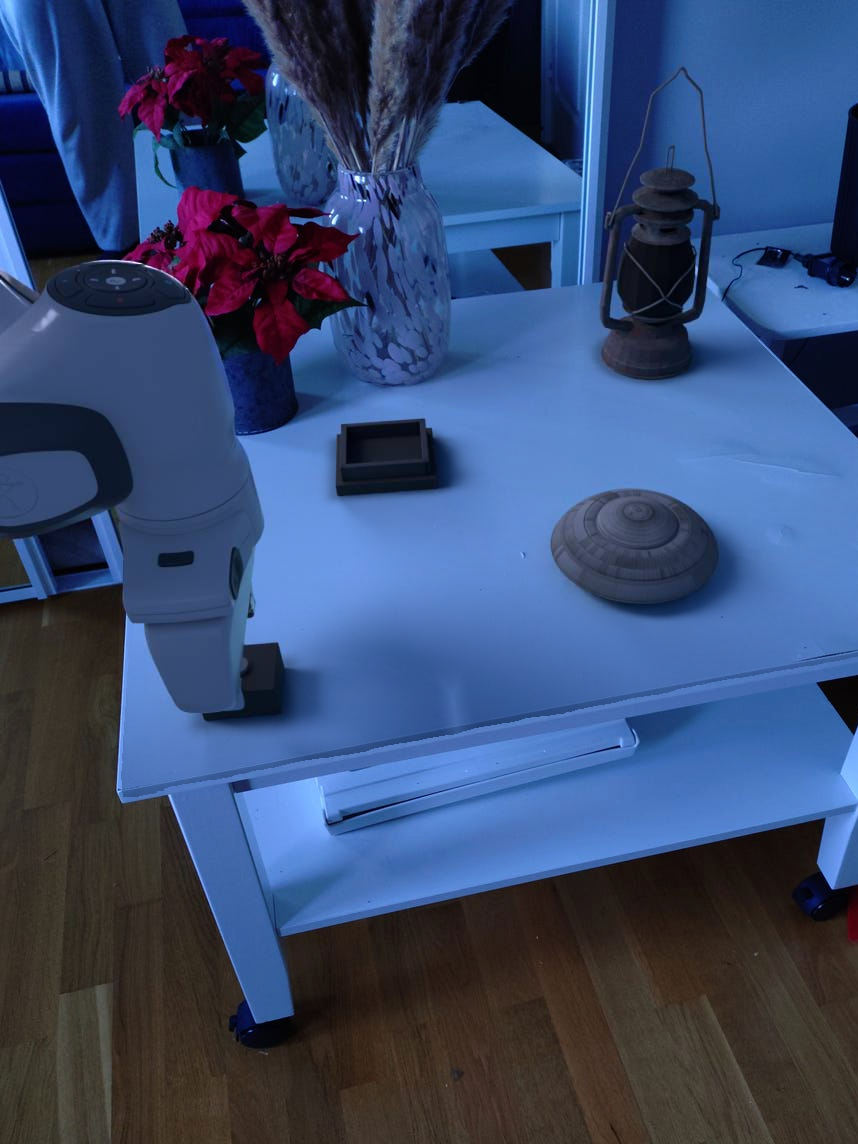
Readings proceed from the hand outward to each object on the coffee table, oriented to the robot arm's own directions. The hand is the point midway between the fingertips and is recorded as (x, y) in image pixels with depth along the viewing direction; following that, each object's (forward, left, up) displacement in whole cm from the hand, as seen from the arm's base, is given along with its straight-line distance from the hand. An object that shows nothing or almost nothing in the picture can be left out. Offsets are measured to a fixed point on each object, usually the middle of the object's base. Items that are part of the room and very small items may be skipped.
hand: (239, 655), depth 71 cm
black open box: (+11, +30, -4) cm, 32 cm away
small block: (-1, 0, -4) cm, 4 cm away
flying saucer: (+33, +13, -5) cm, 36 cm away
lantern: (+42, +48, -5) cm, 64 cm away
